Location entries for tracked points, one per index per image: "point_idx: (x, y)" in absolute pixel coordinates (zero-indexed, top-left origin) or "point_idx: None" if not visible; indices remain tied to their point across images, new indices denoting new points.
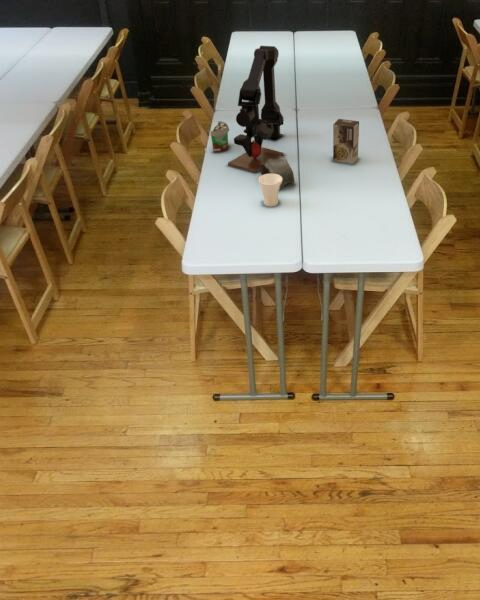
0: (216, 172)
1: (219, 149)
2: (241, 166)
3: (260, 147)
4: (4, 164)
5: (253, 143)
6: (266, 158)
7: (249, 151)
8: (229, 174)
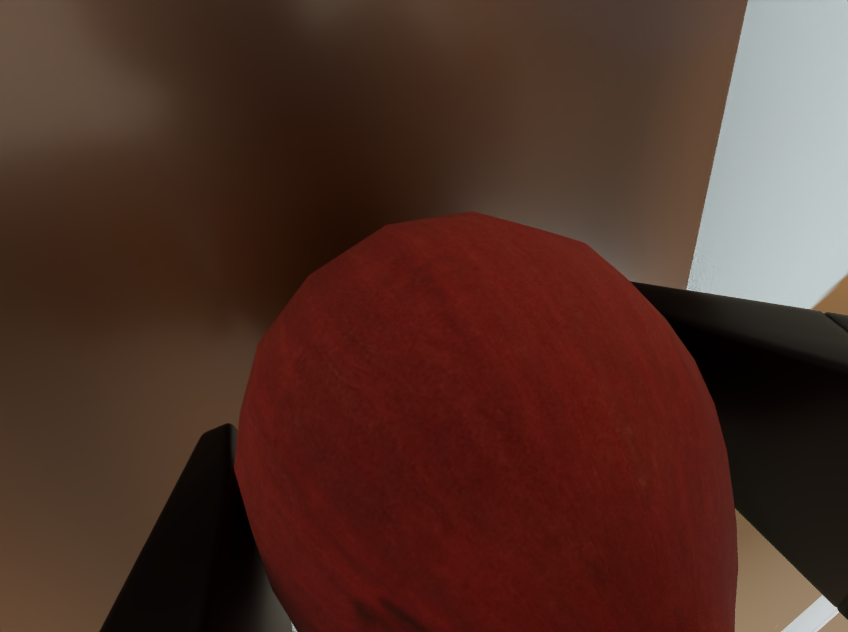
0: (780, 292)
1: None
2: (704, 186)
3: (386, 395)
4: (798, 616)
5: (733, 626)
6: (145, 115)
7: (775, 319)
8: (805, 161)
